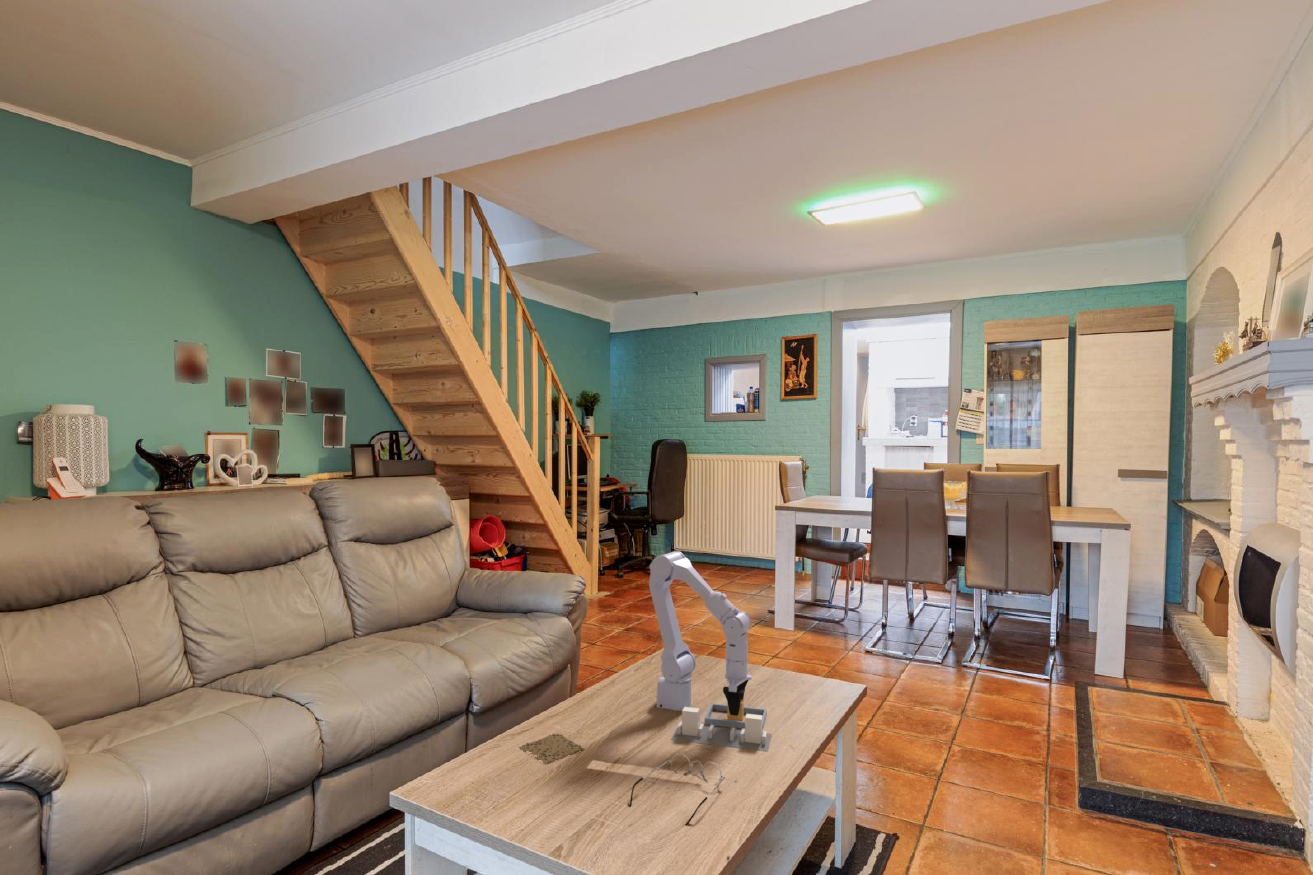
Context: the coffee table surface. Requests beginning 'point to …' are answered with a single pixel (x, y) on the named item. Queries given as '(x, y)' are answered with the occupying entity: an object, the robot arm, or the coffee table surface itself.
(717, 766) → the eyeglasses
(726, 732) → the panel
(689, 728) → the block
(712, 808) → the coffee table surface
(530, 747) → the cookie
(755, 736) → the block
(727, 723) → the tray
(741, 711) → the orange fuse
